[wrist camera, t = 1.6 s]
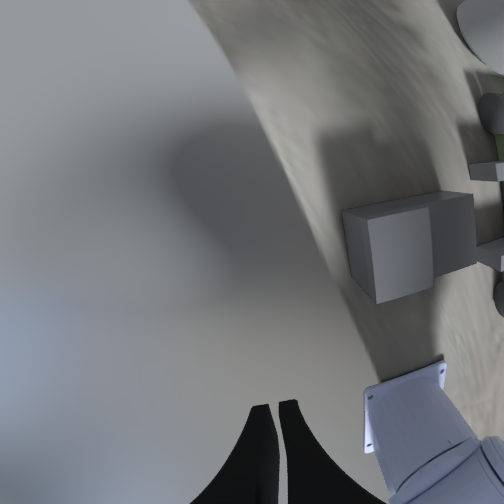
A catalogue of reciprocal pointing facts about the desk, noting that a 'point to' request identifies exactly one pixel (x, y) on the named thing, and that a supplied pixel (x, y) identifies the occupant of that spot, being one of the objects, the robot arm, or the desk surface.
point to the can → (484, 30)
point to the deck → (500, 124)
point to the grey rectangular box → (409, 242)
